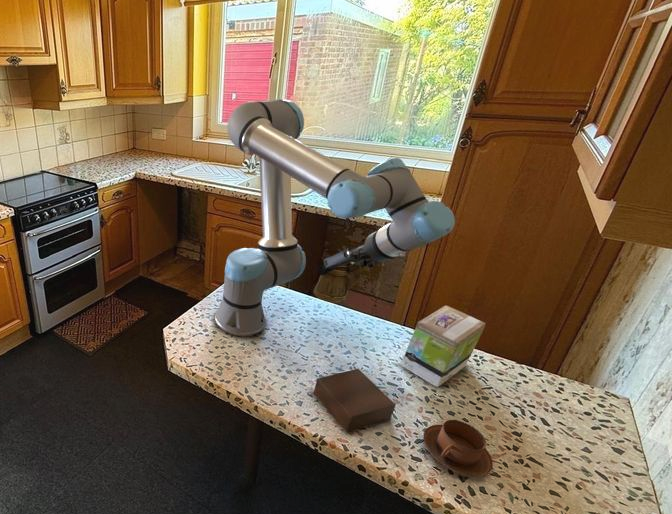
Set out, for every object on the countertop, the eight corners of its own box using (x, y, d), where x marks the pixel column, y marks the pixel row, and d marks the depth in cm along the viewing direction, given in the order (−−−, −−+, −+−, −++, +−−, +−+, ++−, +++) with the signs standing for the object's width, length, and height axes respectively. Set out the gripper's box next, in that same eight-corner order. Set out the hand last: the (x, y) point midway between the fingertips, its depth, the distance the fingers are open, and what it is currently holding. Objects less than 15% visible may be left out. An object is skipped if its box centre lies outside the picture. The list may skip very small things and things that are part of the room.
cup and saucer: (484, 494, 76) (497, 473, 73) (414, 455, 83) (423, 435, 81) (493, 453, 84) (504, 433, 81) (428, 421, 91) (437, 401, 88)
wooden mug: (355, 313, 109) (372, 254, 100) (308, 294, 117) (320, 239, 109) (367, 301, 114) (383, 244, 106) (321, 283, 123) (333, 230, 115)
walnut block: (313, 393, 99) (317, 378, 96) (353, 383, 102) (358, 368, 99) (346, 432, 88) (351, 416, 86) (390, 420, 92) (396, 404, 89)
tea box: (438, 389, 100) (459, 342, 93) (399, 365, 108) (415, 321, 101) (467, 366, 107) (487, 322, 100) (428, 346, 115) (444, 303, 108)
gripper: (351, 261, 91) (304, 285, 112) (433, 254, 94) (373, 278, 116) (343, 231, 93) (298, 260, 114) (423, 224, 97) (365, 254, 118)
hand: (335, 269), depth 115 cm, fingers closed on wooden mug, 9 cm apart
